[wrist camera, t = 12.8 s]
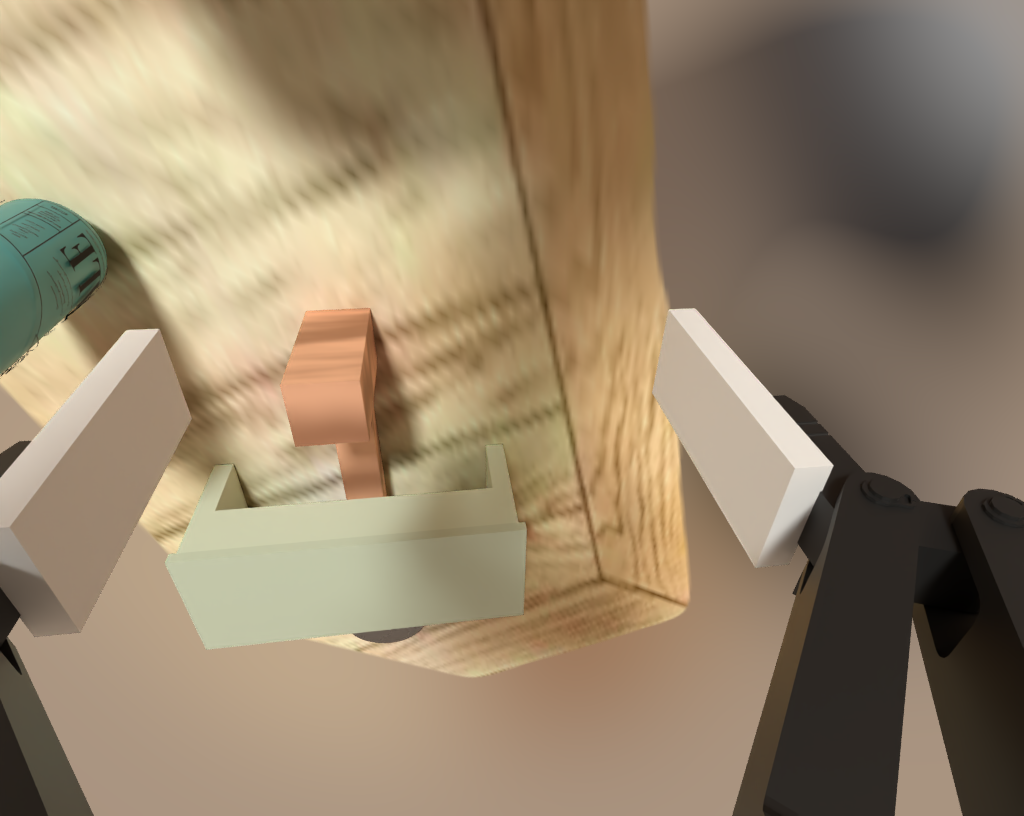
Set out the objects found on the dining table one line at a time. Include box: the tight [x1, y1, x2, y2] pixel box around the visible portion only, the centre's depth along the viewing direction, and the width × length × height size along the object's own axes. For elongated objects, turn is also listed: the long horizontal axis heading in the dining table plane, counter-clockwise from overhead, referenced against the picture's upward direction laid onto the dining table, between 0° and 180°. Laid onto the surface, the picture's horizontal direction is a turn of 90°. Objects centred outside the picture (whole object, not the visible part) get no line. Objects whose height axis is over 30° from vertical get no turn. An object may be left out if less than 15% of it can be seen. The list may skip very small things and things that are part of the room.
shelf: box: [165, 444, 527, 649], centre depth 49 cm, size 10×25×10 cm, turn 89°
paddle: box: [280, 308, 387, 500], centre depth 45 cm, size 22×4×10 cm, turn 179°
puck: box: [353, 626, 423, 643], centre depth 59 cm, size 8×8×3 cm
